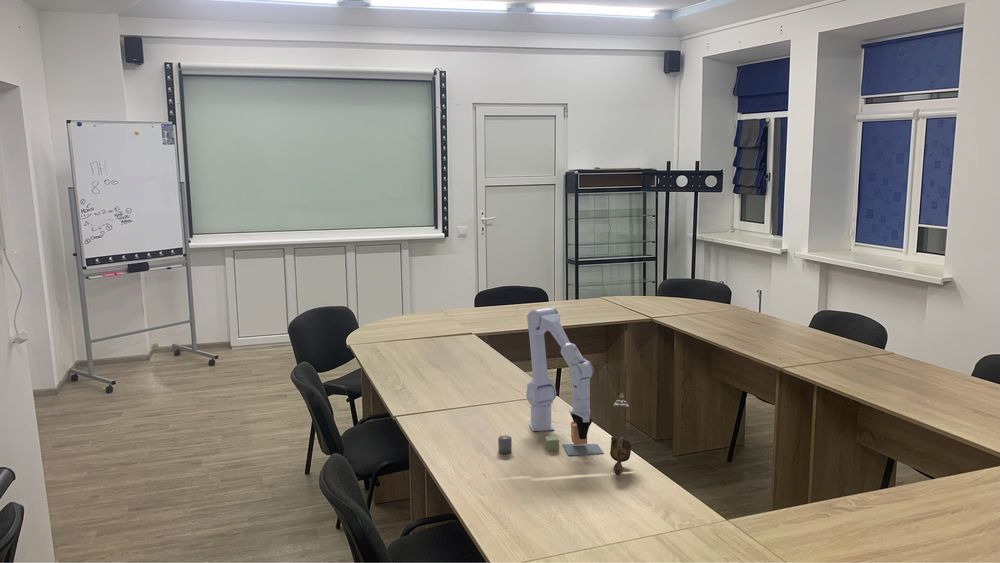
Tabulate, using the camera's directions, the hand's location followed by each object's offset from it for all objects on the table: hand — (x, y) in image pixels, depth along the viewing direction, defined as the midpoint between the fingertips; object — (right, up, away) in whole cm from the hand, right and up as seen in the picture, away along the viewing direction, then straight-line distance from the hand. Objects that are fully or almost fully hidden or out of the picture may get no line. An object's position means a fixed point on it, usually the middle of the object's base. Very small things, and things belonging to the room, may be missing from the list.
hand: (581, 436), depth 248 cm
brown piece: (+11, -7, -19) cm, 23 cm away
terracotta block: (-1, -2, 0) cm, 2 cm away
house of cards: (+21, +1, +41) cm, 46 cm away
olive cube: (-10, -4, -1) cm, 11 cm away
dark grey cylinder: (-26, -5, -3) cm, 26 cm away
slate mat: (0, -4, +1) cm, 4 cm away
